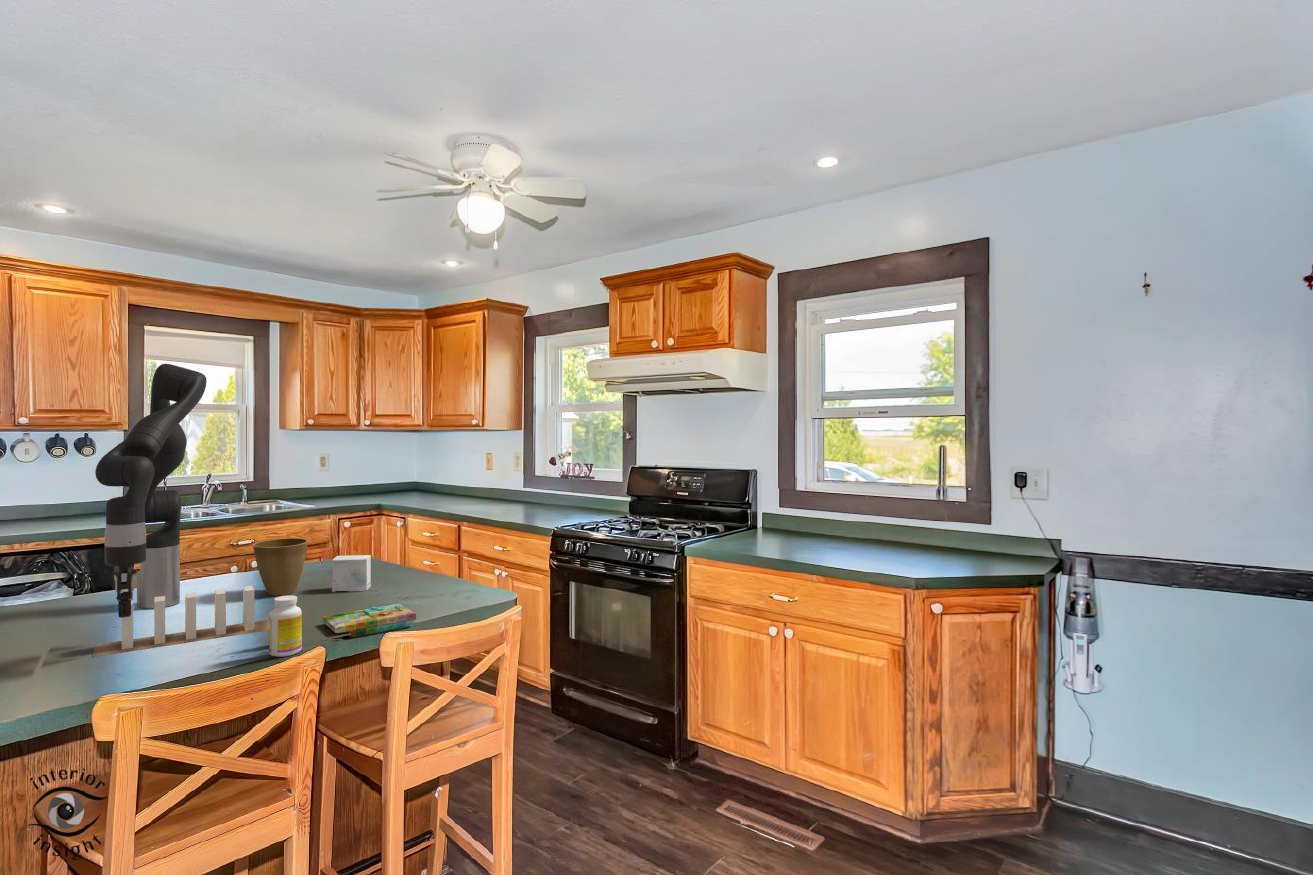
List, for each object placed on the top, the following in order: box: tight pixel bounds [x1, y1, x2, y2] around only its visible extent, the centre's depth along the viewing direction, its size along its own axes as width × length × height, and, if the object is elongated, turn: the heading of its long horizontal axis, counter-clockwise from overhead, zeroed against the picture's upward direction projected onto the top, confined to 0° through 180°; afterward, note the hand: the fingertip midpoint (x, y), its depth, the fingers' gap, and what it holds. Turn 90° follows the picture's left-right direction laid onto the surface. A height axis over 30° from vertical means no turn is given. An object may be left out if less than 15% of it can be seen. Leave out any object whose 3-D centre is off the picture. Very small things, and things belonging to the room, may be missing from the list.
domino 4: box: [214, 588, 227, 635], centre depth 165 cm, size 2×5×10 cm, turn 36°
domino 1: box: [121, 599, 134, 649], centre depth 154 cm, size 2×5×10 cm, turn 37°
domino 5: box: [242, 585, 255, 631], centre depth 168 cm, size 2×5×10 cm, turn 36°
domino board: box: [91, 619, 269, 658], centre depth 161 cm, size 36×10×2 cm, turn 127°
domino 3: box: [184, 592, 197, 640], centre depth 161 cm, size 2×5×10 cm, turn 37°
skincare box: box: [331, 554, 372, 593], centre depth 214 cm, size 10×6×10 cm, turn 102°
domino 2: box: [153, 596, 166, 644], centre depth 158 cm, size 2×5×10 cm, turn 36°
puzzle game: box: [321, 603, 417, 638], centre depth 174 cm, size 12×5×20 cm
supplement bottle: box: [268, 595, 303, 658], centre depth 155 cm, size 7×7×13 cm
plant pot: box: [252, 537, 309, 597], centre depth 208 cm, size 15×15×16 cm
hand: (125, 612), depth 154 cm, fingers open, 8 cm apart
